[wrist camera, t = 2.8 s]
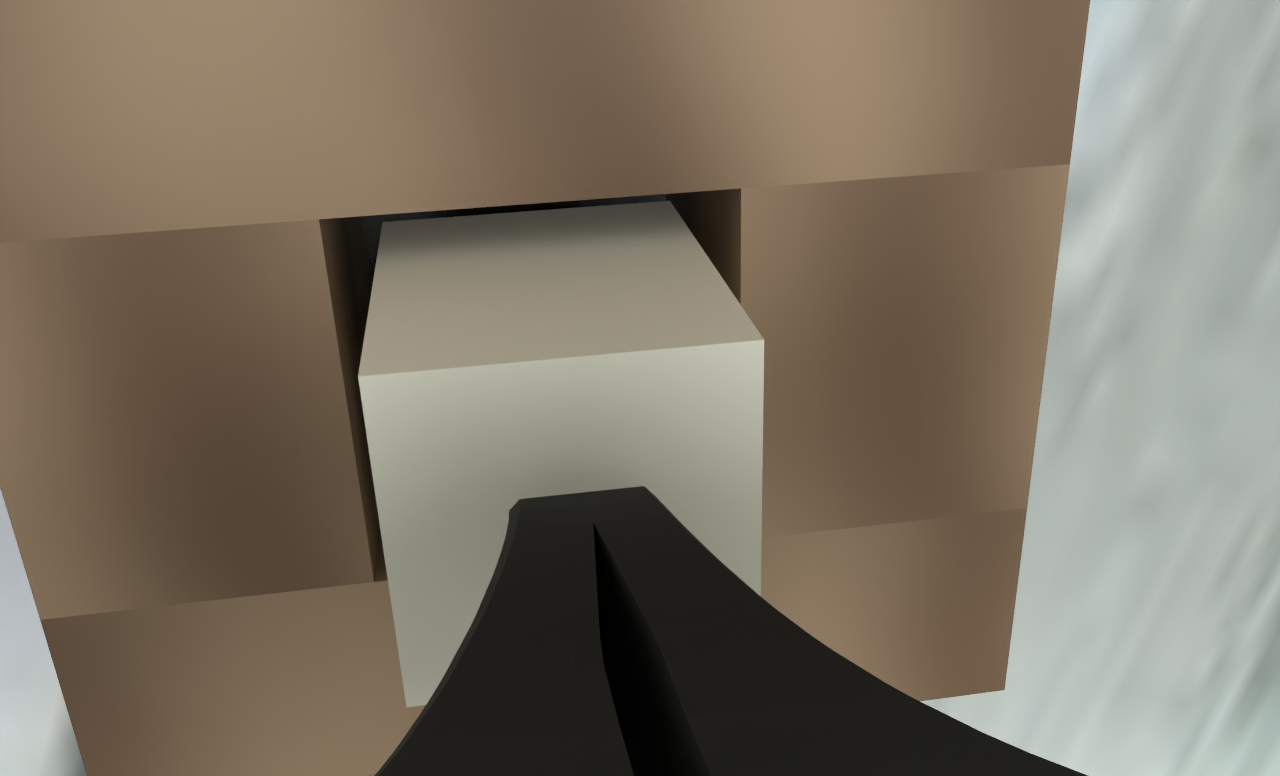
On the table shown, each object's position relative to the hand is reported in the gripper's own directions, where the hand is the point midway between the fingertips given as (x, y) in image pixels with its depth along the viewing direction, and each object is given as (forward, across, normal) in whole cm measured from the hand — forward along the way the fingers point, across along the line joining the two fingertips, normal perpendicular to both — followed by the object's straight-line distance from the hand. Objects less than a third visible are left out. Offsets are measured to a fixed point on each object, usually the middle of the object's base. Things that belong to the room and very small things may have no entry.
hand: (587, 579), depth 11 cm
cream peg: (+6, 0, 0) cm, 6 cm away
